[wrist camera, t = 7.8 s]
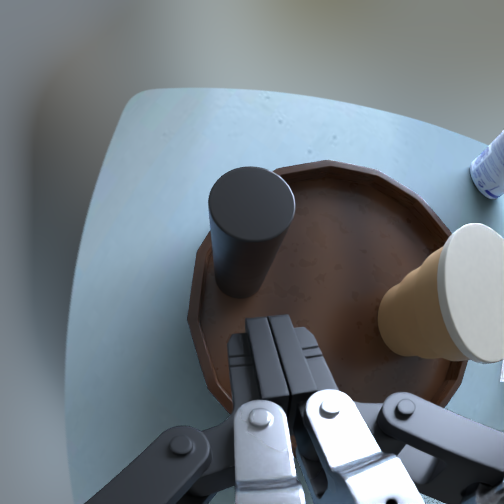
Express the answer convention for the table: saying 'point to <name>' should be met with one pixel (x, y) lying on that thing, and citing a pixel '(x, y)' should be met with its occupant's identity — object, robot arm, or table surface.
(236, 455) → the robot arm
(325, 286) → the tray
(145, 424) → the table surface
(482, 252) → the paper cups
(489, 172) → the energy drink
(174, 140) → the table surface
